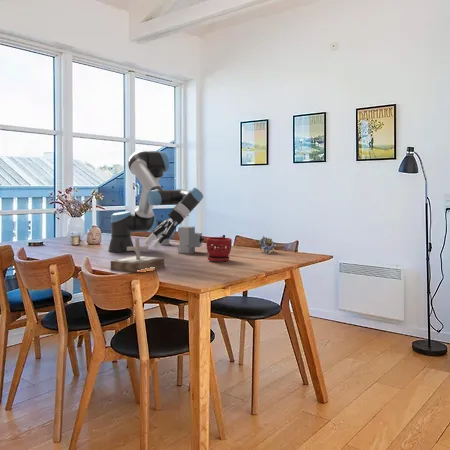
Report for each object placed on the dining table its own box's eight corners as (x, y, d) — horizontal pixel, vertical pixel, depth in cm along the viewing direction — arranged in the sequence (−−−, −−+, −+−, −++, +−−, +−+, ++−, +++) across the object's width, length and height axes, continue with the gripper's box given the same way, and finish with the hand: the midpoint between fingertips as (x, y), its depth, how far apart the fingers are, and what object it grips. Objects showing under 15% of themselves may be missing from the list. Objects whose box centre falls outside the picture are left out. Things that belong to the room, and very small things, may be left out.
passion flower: (269, 262, 272) (262, 247, 266) (256, 257, 280) (249, 242, 274) (281, 250, 277) (275, 235, 270) (268, 245, 285) (262, 230, 278)
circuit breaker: (201, 253, 272) (201, 227, 271) (178, 253, 275) (177, 227, 273) (204, 251, 279) (204, 226, 278) (181, 251, 282) (181, 226, 281)
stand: (110, 269, 222) (110, 260, 221) (135, 263, 238) (134, 255, 237) (141, 272, 213) (140, 263, 213) (164, 266, 229) (164, 257, 229)
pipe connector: (129, 257, 230) (128, 237, 229) (149, 256, 230) (148, 236, 229) (125, 261, 220) (124, 239, 219) (147, 260, 220) (146, 238, 219)
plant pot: (223, 263, 238) (223, 239, 237) (201, 261, 245) (201, 238, 244) (236, 259, 249) (236, 237, 248) (215, 258, 256) (215, 236, 255)
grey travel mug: (163, 243, 322) (162, 221, 321) (178, 244, 314) (178, 222, 313) (154, 244, 315) (153, 222, 314) (169, 245, 307) (169, 223, 306)
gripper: (193, 220, 223) (163, 254, 217) (175, 217, 245) (147, 248, 240) (182, 209, 220) (152, 243, 215) (165, 207, 242) (137, 238, 237)
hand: (149, 246), depth 227 cm, fingers open, 13 cm apart
